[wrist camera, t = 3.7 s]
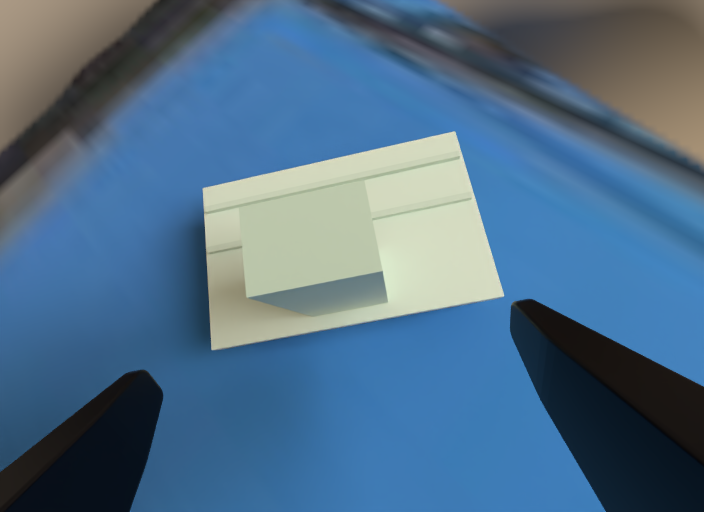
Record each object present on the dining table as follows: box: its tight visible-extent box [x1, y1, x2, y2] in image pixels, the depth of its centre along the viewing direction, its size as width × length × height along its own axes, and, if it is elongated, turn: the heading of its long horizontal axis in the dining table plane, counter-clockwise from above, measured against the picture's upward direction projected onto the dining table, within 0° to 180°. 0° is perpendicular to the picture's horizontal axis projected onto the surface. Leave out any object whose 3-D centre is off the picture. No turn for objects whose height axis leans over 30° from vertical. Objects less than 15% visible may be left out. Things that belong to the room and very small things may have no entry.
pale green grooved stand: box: [203, 132, 504, 350], centre depth 13 cm, size 8×13×8 cm, turn 100°
